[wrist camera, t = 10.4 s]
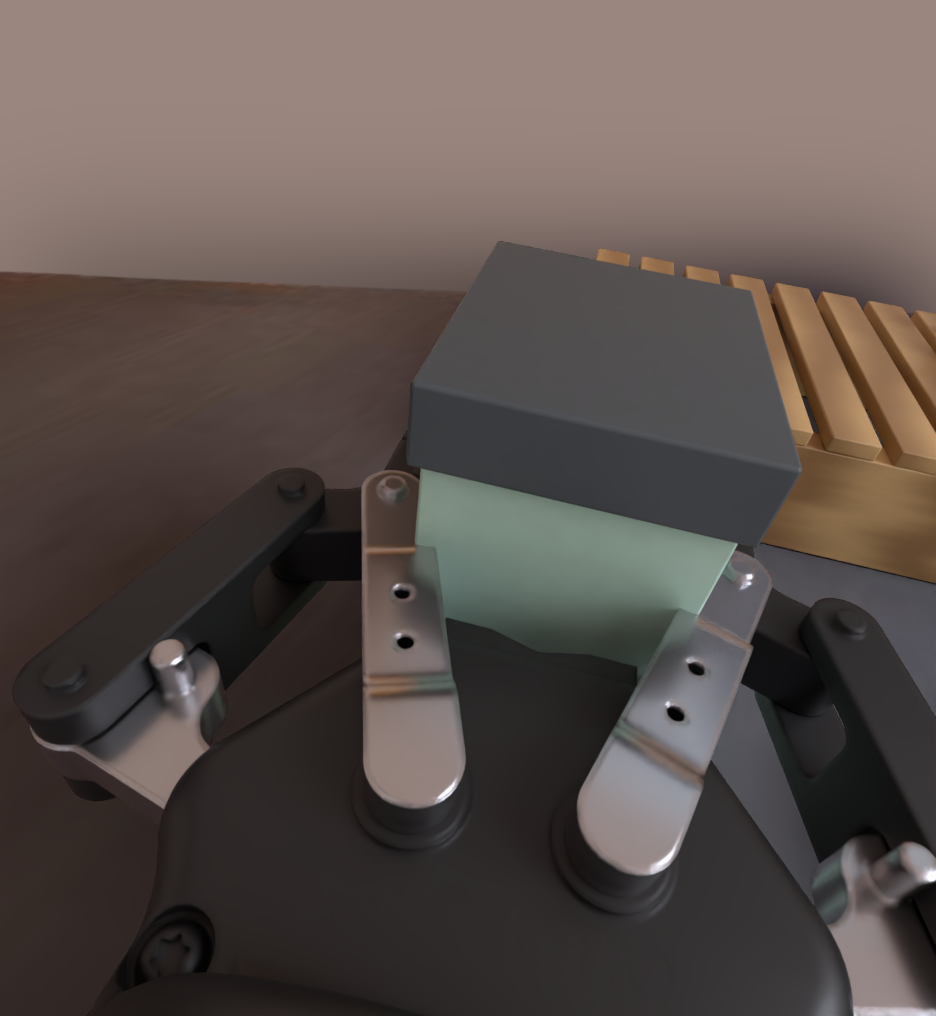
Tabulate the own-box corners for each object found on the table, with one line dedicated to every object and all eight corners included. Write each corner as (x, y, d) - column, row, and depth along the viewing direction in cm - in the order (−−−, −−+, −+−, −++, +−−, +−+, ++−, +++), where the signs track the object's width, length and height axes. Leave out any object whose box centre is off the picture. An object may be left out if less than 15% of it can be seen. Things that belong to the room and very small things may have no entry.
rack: (528, 488, 25) (566, 321, 20) (567, 337, 35) (598, 203, 31) (1010, 601, 23) (1171, 446, 19) (902, 407, 34) (988, 277, 29)
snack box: (385, 763, 16) (408, 381, 9) (449, 582, 21) (497, 239, 14) (597, 823, 16) (805, 470, 8) (612, 624, 20) (753, 290, 13)
